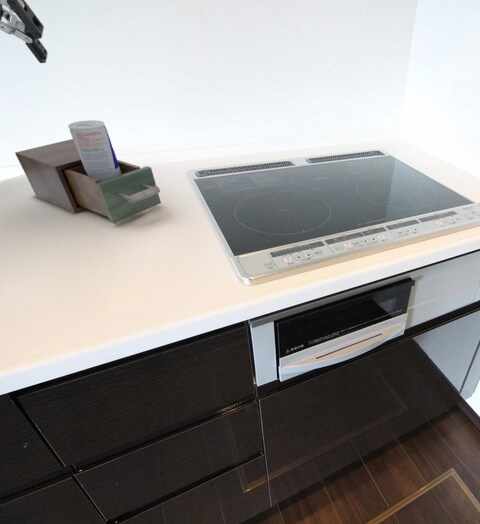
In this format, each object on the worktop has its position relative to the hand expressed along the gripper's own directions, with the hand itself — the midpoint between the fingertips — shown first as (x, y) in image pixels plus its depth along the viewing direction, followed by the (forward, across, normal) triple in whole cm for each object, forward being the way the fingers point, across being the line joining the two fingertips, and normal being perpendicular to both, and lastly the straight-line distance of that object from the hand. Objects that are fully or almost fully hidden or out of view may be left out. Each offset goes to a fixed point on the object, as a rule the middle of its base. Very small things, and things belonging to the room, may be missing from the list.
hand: (16, 61), depth 62 cm
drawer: (+19, -9, +18) cm, 28 cm away
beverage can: (+19, -7, +16) cm, 26 cm away
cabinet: (+24, +2, +10) cm, 26 cm away
